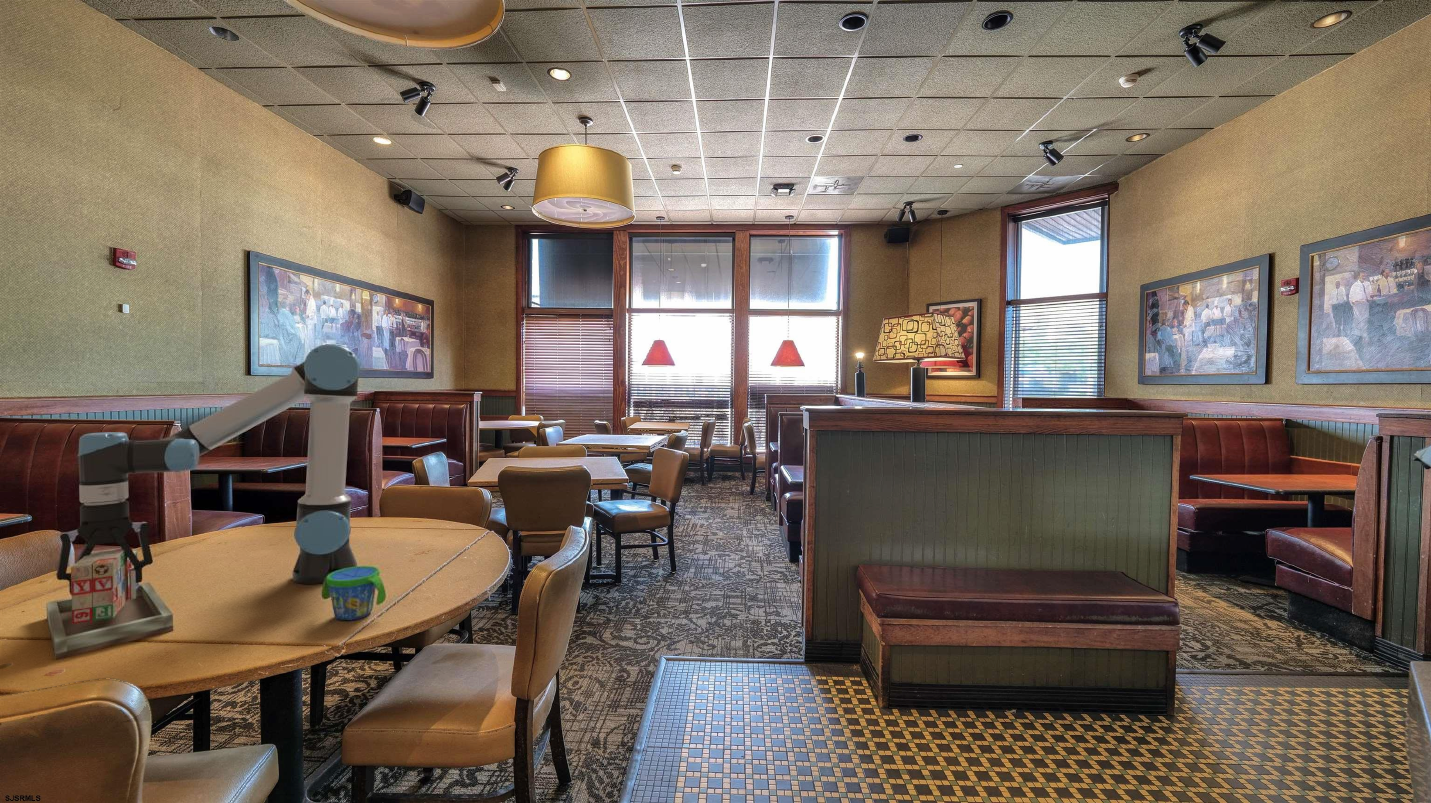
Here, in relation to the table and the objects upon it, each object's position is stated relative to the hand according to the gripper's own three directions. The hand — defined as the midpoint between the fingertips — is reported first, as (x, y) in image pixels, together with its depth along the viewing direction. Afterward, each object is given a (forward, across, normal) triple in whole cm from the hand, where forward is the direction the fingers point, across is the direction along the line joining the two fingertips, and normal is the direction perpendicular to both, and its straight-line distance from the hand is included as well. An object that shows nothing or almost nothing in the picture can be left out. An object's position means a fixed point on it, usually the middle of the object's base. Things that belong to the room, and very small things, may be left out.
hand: (107, 602), depth 129 cm
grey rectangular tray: (+5, 0, 0) cm, 5 cm away
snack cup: (+5, +37, -37) cm, 52 cm away
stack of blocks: (+1, 0, +1) cm, 1 cm away
